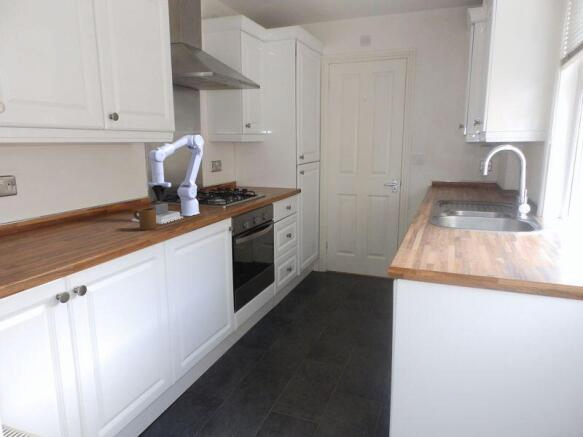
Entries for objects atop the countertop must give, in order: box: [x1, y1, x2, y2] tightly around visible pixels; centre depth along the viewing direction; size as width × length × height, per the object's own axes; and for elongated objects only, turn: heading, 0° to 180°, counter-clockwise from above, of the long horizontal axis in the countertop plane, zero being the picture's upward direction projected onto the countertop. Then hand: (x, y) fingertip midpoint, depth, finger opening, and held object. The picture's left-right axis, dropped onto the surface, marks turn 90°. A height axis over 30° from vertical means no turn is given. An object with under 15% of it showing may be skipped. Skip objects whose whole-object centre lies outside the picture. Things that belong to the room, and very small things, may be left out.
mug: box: [132, 207, 158, 232], centre depth 193 cm, size 12×8×9 cm, turn 66°
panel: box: [152, 202, 169, 215], centre depth 214 cm, size 9×2×7 cm, turn 155°
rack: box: [131, 210, 184, 225], centre depth 215 cm, size 16×20×4 cm
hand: (159, 200), depth 213 cm, fingers closed
